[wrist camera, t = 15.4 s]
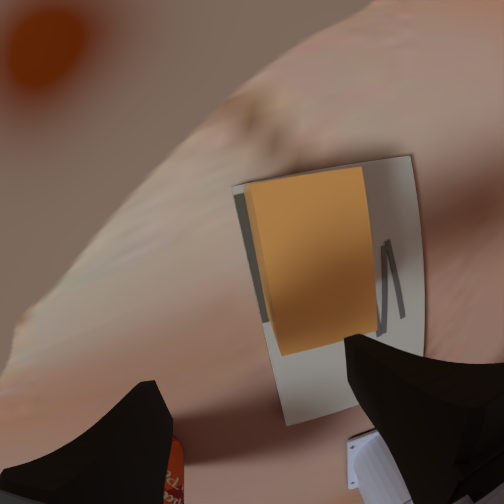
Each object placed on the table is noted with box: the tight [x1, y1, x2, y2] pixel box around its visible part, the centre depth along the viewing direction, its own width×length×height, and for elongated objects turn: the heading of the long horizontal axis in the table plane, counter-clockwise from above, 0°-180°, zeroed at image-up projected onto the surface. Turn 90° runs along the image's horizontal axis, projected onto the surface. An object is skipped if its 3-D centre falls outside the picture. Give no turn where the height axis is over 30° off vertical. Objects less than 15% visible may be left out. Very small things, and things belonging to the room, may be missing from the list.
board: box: [231, 156, 425, 426], centre depth 20 cm, size 18×12×1 cm, turn 12°
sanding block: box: [243, 167, 377, 356], centre depth 16 cm, size 8×5×5 cm, turn 11°
